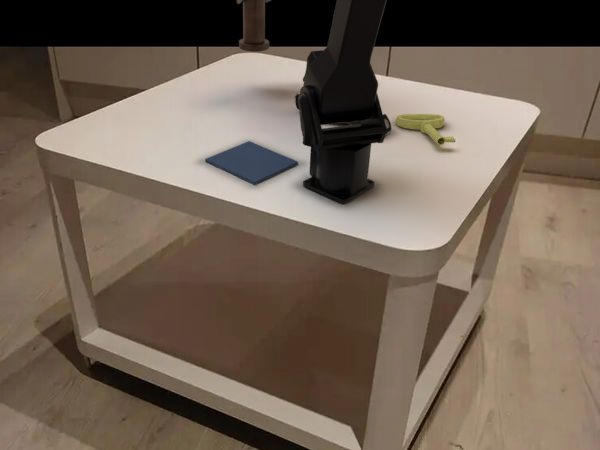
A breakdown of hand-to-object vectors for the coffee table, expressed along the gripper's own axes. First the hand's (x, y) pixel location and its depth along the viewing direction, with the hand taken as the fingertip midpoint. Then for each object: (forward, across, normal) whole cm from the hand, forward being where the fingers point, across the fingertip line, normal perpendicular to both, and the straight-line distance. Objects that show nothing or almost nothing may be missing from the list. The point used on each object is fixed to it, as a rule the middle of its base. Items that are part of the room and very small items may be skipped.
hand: (251, 0), depth 97 cm
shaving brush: (+4, 0, +6) cm, 7 cm away
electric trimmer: (-3, -8, +23) cm, 25 cm away
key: (-7, -19, +28) cm, 35 cm away
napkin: (-9, +8, +29) cm, 32 cm away
